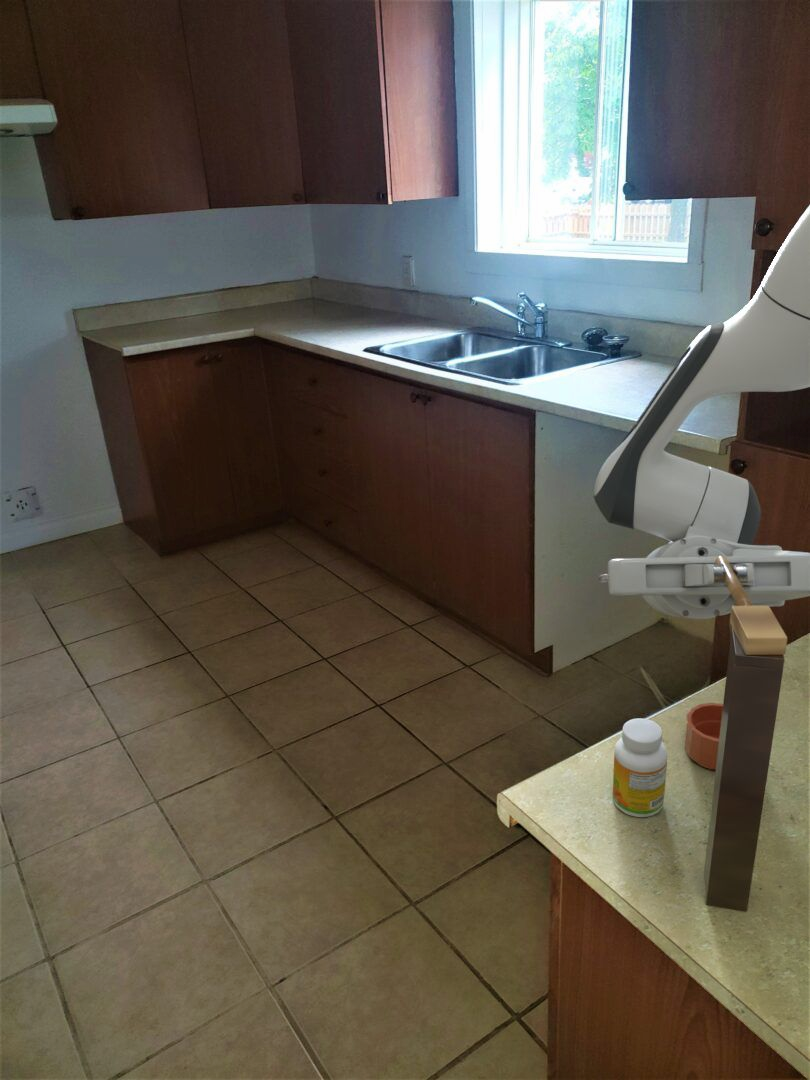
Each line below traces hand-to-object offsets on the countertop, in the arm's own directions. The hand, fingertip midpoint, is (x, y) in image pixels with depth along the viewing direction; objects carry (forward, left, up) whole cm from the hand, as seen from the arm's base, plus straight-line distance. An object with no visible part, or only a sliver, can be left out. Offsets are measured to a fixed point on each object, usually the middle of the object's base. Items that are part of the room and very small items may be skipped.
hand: (730, 573), depth 74 cm
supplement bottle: (+7, -1, -29) cm, 30 cm away
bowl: (-2, -11, -29) cm, 31 cm away
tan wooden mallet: (-1, +4, -1) cm, 4 cm away
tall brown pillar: (-1, +9, -29) cm, 31 cm away
